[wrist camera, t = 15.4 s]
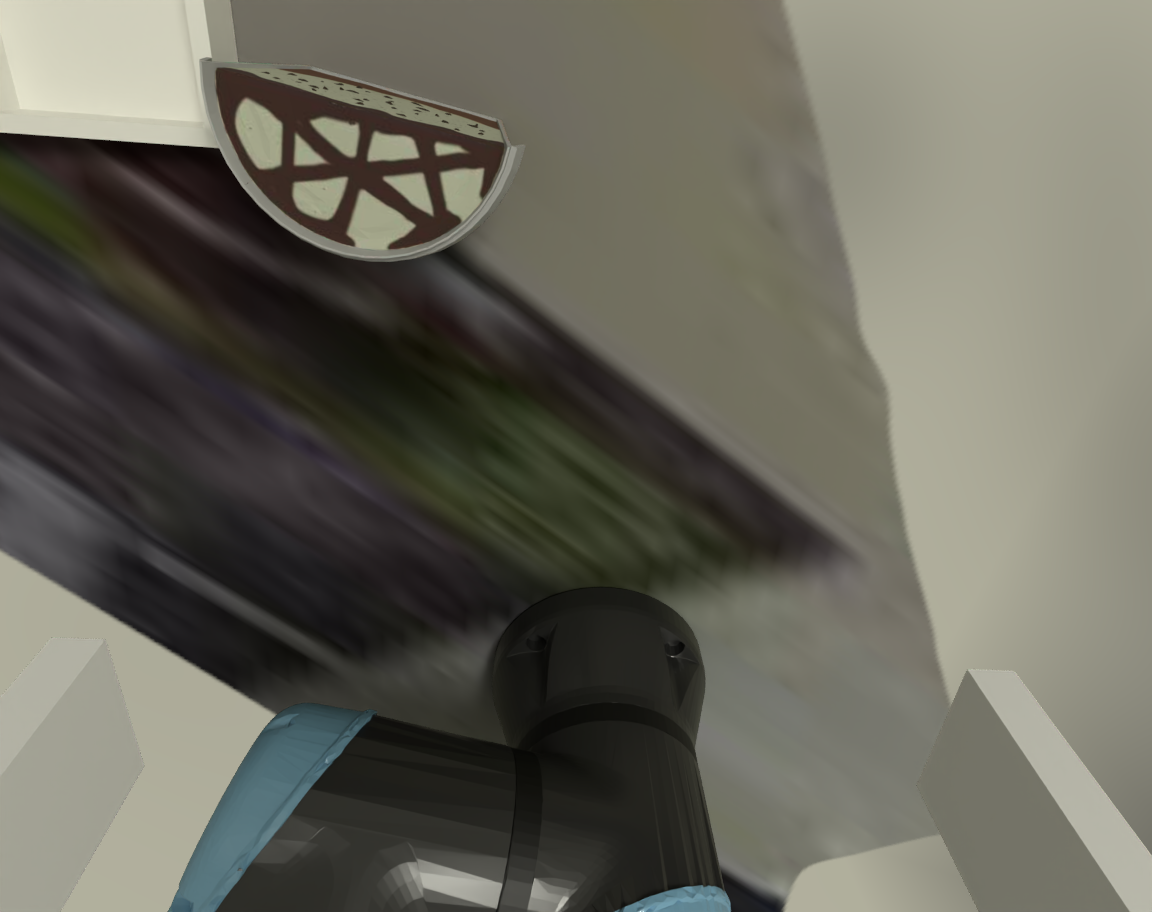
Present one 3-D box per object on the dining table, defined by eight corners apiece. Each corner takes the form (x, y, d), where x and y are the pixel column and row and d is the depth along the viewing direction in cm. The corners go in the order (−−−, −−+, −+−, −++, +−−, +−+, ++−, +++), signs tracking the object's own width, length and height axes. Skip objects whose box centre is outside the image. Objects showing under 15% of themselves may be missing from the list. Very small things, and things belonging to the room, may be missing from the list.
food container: (268, 188, 38) (181, 229, 29) (276, 56, 35) (183, 56, 26) (504, 249, 40) (490, 305, 31) (530, 127, 37) (523, 151, 28)
